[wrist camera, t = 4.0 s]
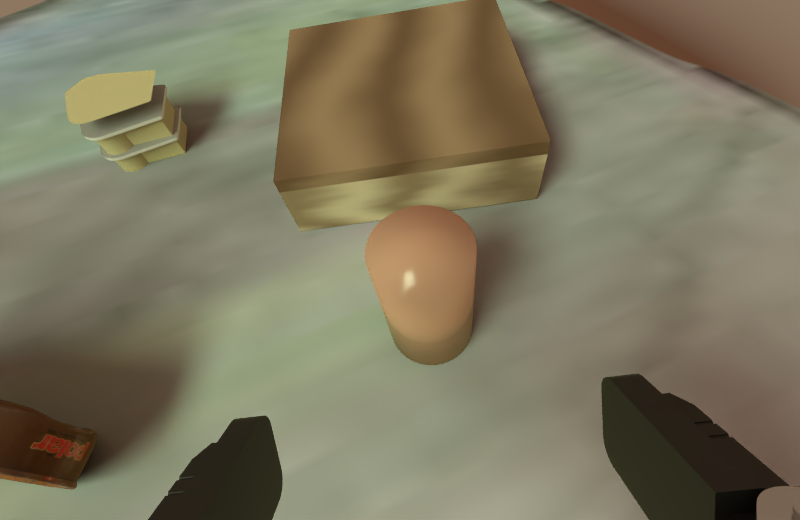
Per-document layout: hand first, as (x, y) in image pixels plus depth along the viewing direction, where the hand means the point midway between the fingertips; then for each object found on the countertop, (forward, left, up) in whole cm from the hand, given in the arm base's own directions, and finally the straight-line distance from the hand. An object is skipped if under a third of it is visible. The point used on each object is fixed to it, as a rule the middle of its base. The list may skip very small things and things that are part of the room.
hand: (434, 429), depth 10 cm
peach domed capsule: (0, -8, -12) cm, 14 cm away
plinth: (0, -24, -12) cm, 26 cm away
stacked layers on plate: (+21, -27, -12) cm, 36 cm away
